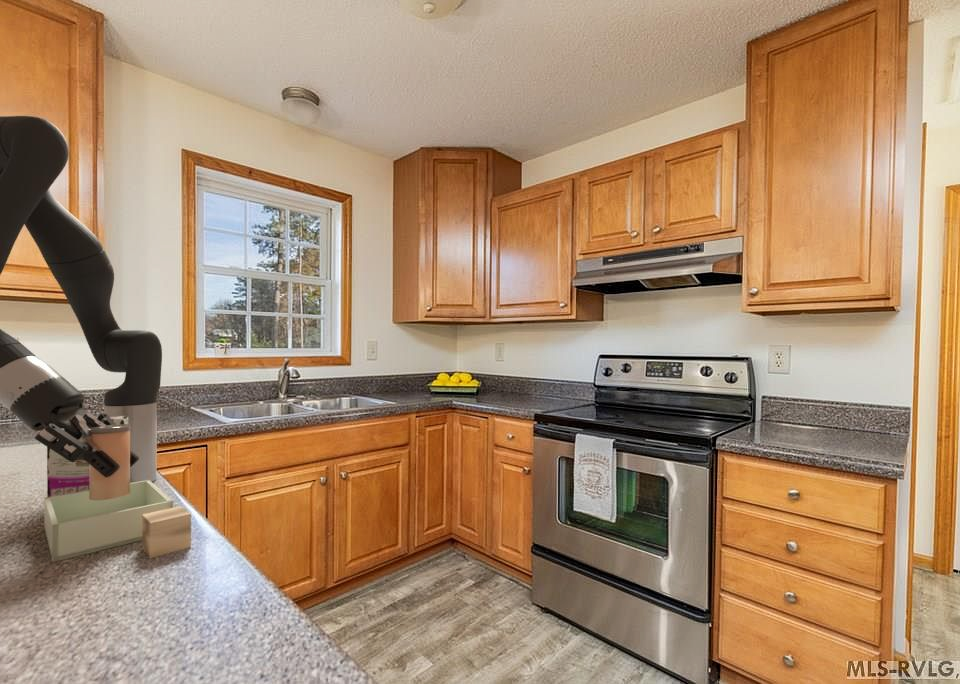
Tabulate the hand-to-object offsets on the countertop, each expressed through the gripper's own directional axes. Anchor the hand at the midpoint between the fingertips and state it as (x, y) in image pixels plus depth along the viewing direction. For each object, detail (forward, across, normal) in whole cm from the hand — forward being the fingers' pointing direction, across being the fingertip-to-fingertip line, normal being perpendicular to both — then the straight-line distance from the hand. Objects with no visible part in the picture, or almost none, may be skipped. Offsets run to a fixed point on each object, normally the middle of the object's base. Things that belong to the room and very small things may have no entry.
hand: (124, 467), depth 73 cm
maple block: (+14, -6, +2) cm, 15 cm away
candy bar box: (-2, +16, +17) cm, 24 cm away
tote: (+5, +3, +10) cm, 12 cm away
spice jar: (+2, 0, +4) cm, 4 cm away
